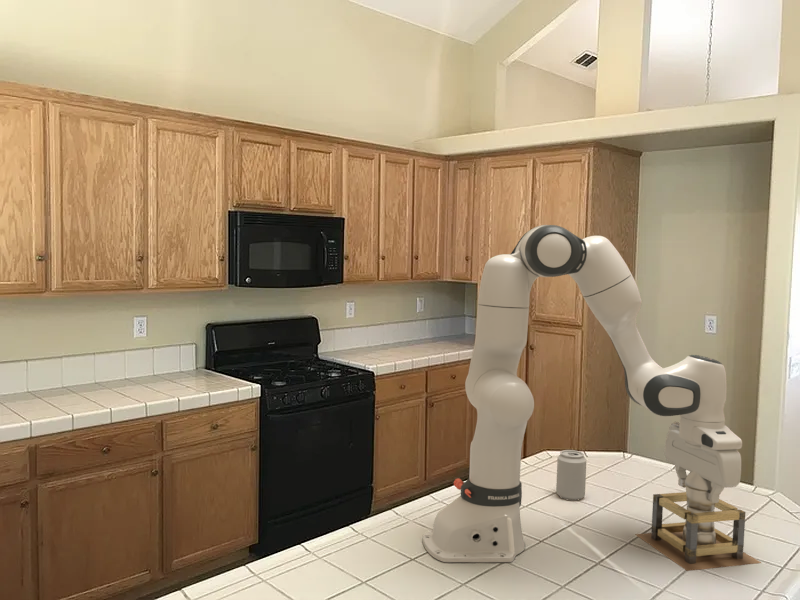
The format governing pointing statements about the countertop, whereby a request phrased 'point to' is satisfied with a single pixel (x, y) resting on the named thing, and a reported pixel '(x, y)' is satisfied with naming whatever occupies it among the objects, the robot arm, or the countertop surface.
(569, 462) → the can
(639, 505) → the countertop surface
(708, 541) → the plastic bottle
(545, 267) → the robot arm
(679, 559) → the walnut board
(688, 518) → the frame
